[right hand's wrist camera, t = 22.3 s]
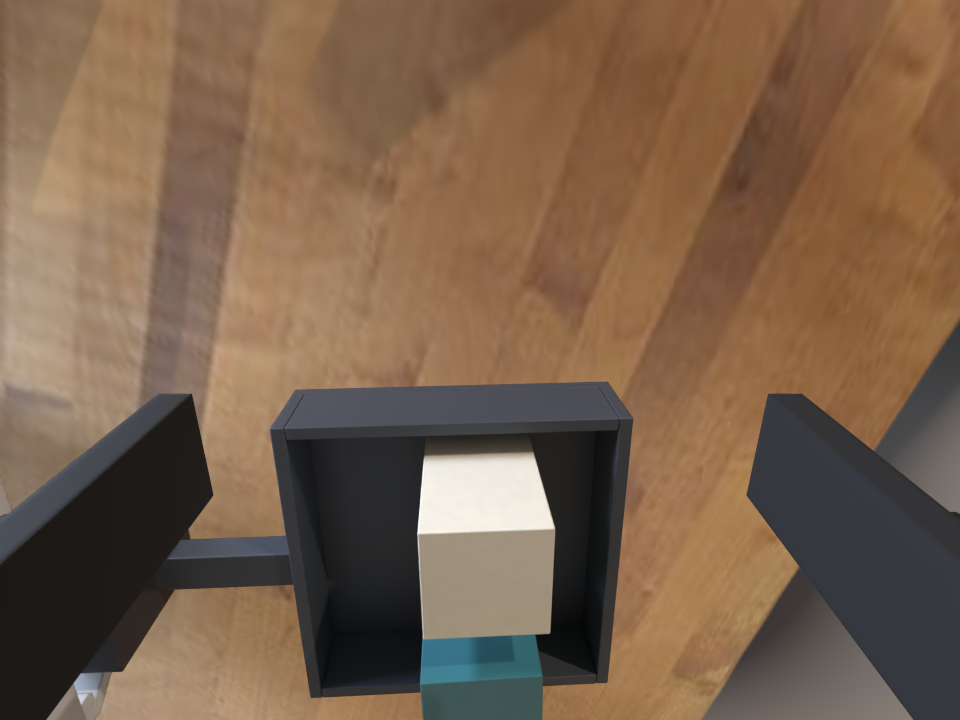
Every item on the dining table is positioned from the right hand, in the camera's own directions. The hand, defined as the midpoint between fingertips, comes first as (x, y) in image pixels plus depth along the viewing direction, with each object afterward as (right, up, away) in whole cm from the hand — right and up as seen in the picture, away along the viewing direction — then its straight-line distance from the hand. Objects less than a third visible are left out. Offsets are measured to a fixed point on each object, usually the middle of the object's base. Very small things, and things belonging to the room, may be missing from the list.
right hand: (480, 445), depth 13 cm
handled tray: (-7, -6, +16) cm, 19 cm away
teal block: (0, -10, +17) cm, 20 cm away
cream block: (0, -3, +15) cm, 15 cm away
